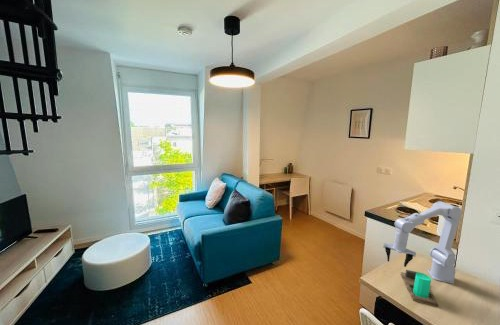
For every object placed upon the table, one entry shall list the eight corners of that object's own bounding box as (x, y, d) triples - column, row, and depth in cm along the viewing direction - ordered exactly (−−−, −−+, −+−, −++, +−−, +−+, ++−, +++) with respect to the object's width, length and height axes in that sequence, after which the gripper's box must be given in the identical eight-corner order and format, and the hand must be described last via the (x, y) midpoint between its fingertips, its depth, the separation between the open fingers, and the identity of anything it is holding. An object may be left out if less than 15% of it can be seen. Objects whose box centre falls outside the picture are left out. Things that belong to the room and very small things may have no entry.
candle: (430, 300, 103) (434, 278, 101) (417, 298, 105) (420, 276, 103) (423, 291, 109) (427, 270, 107) (410, 289, 110) (413, 268, 108)
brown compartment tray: (400, 274, 122) (401, 266, 121) (421, 279, 118) (422, 271, 117) (412, 300, 103) (414, 291, 102) (438, 306, 100) (439, 297, 99)
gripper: (385, 239, 115) (381, 261, 117) (418, 248, 107) (413, 272, 109) (384, 234, 120) (381, 255, 123) (416, 242, 113) (412, 265, 115)
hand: (396, 263), depth 116 cm, fingers open, 7 cm apart
